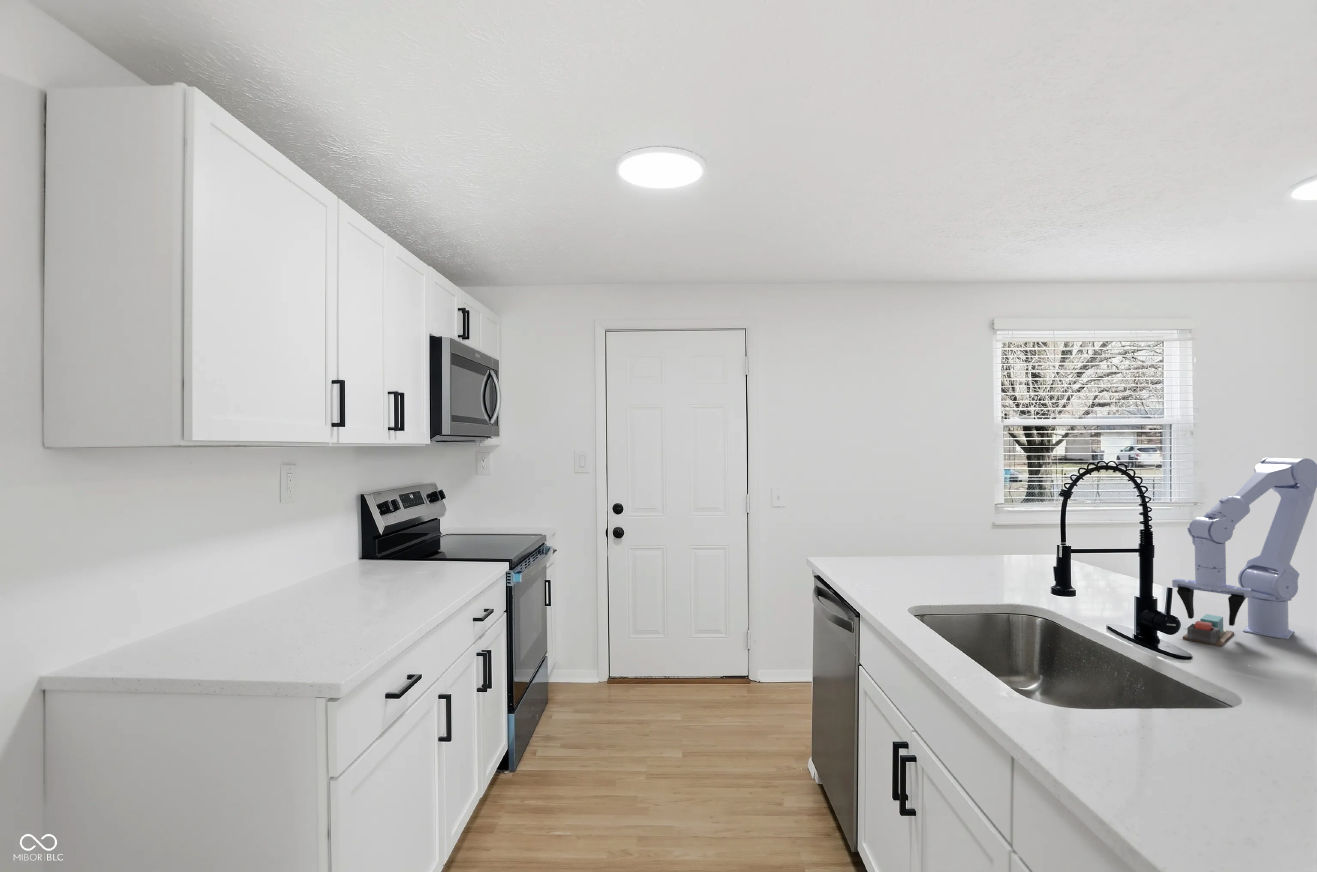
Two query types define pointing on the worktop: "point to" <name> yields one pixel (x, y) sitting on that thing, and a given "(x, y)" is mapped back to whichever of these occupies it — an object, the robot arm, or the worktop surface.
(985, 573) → the worktop surface
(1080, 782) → the worktop surface
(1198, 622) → the button
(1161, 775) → the worktop surface
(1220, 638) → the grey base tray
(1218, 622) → the teal block
